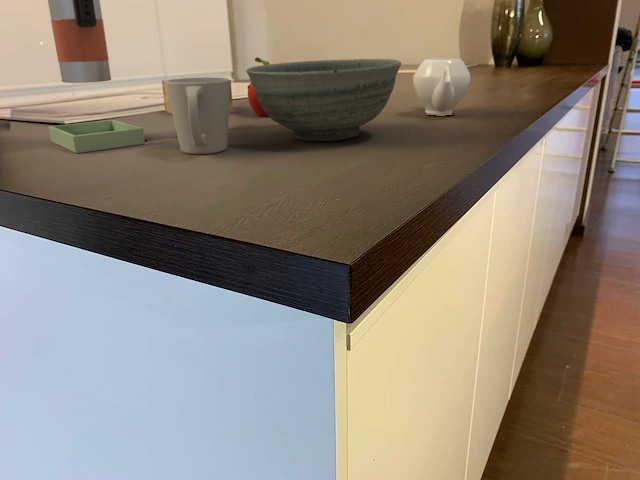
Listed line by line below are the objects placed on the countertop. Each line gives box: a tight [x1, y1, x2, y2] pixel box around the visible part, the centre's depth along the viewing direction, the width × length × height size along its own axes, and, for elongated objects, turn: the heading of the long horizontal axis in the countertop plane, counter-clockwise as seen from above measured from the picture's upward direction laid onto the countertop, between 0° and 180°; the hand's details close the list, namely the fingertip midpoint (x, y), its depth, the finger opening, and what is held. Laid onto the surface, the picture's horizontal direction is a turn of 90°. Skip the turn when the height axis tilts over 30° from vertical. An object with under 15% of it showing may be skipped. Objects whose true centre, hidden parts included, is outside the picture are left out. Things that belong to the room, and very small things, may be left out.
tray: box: [48, 119, 146, 154], centre depth 73 cm, size 11×9×2 cm
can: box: [47, 0, 112, 84], centre depth 69 cm, size 6×6×11 cm
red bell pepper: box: [247, 56, 270, 118], centre depth 91 cm, size 8×7×10 cm
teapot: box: [412, 56, 472, 114], centre depth 92 cm, size 10×20×9 cm, turn 174°
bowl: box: [245, 58, 402, 142], centre depth 74 cm, size 21×21×10 cm
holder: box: [161, 79, 234, 114], centre depth 97 cm, size 9×9×6 cm
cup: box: [166, 76, 231, 155], centre depth 65 cm, size 8×10×8 cm
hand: (78, 26), depth 68 cm, fingers closed on can, 6 cm apart
